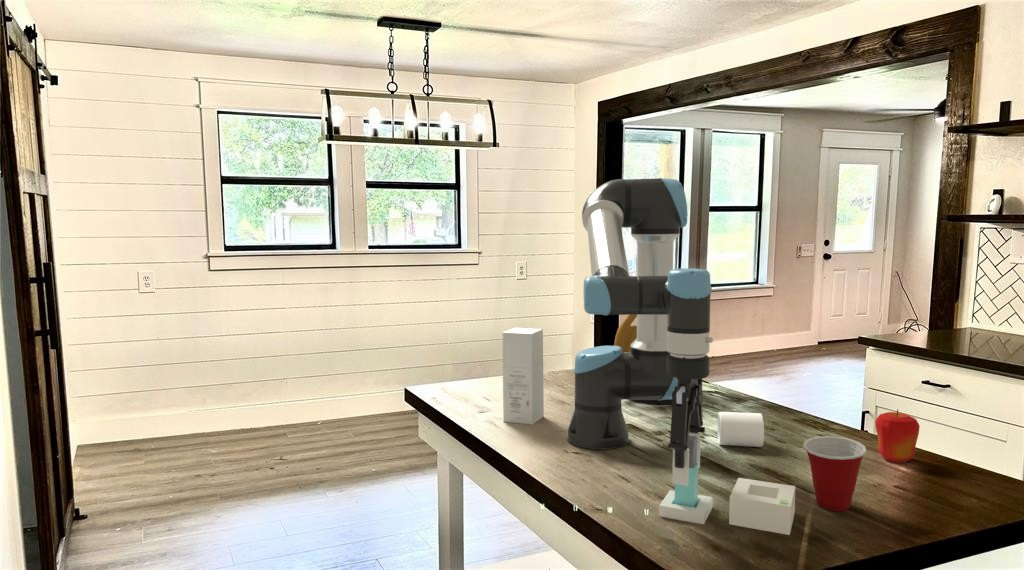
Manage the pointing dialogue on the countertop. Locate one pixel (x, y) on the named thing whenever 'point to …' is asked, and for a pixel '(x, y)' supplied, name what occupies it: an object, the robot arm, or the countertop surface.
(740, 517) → the port
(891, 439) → the apple
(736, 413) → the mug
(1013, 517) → the countertop surface
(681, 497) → the plug
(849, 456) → the plastic cup
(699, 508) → the holster
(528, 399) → the tall white carton
